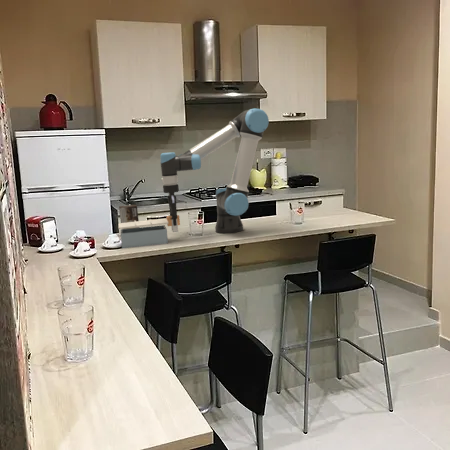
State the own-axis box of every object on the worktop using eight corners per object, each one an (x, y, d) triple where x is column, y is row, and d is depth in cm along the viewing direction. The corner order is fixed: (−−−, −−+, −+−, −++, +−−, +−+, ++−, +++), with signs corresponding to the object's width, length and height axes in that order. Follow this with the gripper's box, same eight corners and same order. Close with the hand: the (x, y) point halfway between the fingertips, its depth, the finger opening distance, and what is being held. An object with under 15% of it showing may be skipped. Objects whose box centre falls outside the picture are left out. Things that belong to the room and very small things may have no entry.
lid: (178, 222, 265) (177, 213, 264) (181, 226, 252) (180, 217, 251) (119, 228, 259) (118, 220, 258) (119, 233, 247) (118, 224, 246)
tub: (166, 240, 264) (164, 225, 263) (168, 245, 253) (166, 229, 251) (122, 245, 260) (120, 229, 259) (122, 250, 249) (120, 233, 247)
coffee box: (137, 232, 292) (135, 204, 289) (140, 234, 286) (137, 205, 283) (121, 234, 289) (118, 206, 286) (123, 236, 283) (120, 207, 280)
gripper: (161, 183, 262) (166, 229, 266) (164, 186, 246) (169, 235, 250) (176, 182, 263) (180, 227, 267) (180, 185, 247) (184, 233, 251)
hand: (175, 231), depth 258 cm, fingers closed on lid, 3 cm apart
